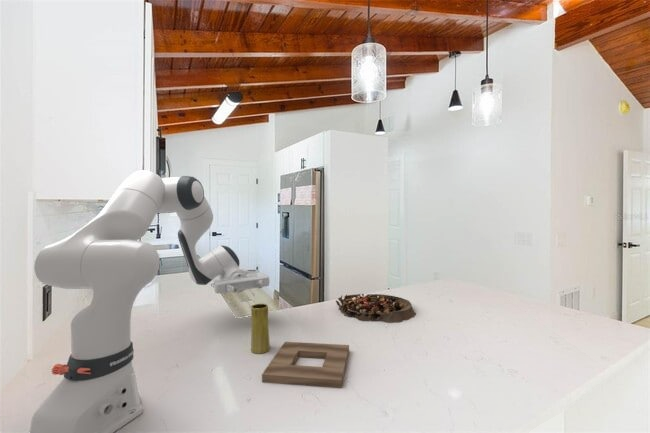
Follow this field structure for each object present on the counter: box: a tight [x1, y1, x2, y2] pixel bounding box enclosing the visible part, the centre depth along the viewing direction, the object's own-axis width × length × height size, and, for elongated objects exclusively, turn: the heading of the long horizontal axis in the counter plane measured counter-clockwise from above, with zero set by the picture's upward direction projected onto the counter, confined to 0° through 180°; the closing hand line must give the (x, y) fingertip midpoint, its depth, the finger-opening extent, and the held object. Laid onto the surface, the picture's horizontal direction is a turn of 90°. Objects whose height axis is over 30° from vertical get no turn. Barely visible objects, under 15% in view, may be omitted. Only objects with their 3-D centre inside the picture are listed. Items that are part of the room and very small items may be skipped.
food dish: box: [335, 293, 417, 324], centre depth 142 cm, size 35×33×8 cm
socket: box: [261, 341, 350, 389], centre depth 93 cm, size 21×21×2 cm
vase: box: [250, 303, 271, 355], centre depth 104 cm, size 6×6×14 cm
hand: (248, 287), depth 114 cm, fingers open, 8 cm apart
